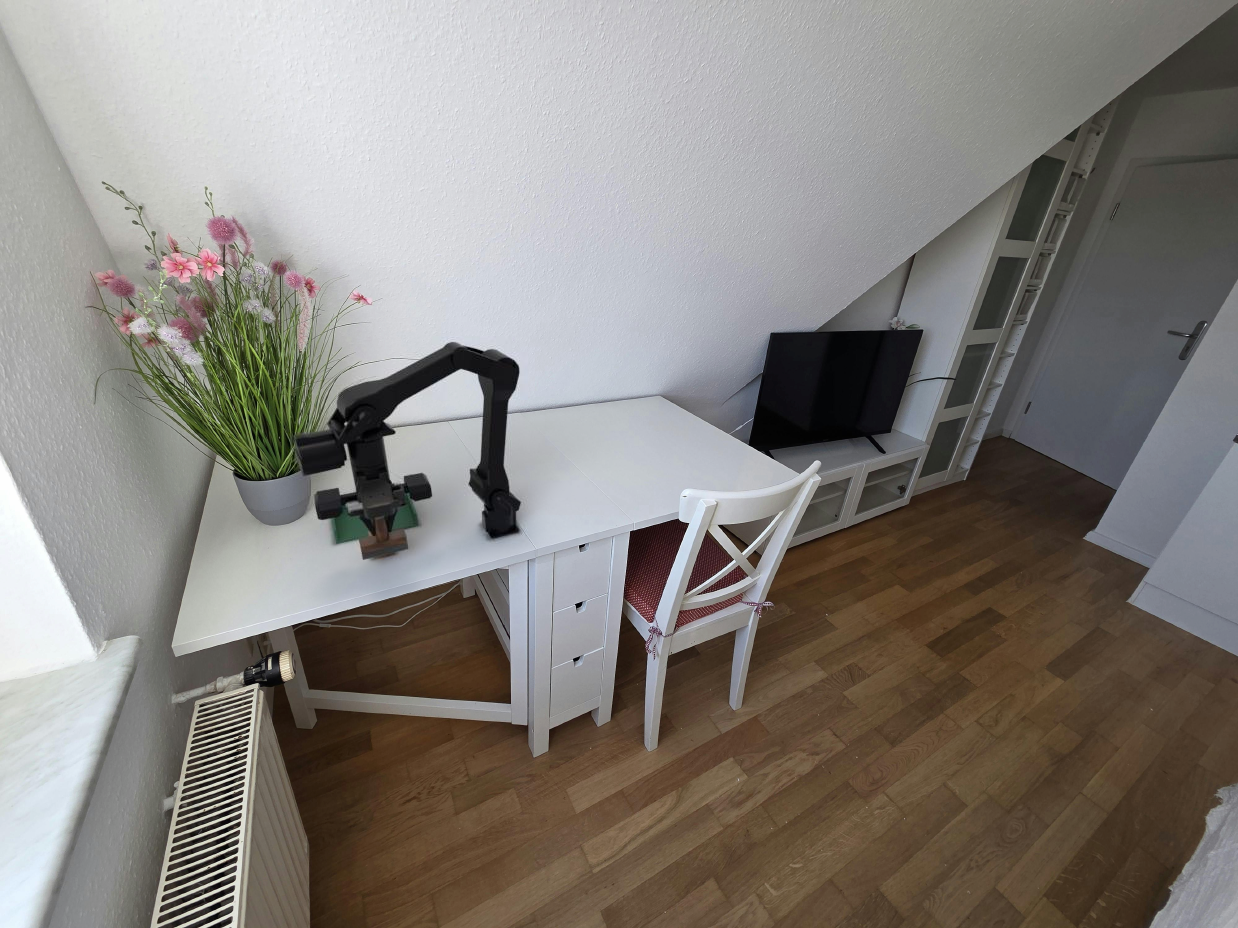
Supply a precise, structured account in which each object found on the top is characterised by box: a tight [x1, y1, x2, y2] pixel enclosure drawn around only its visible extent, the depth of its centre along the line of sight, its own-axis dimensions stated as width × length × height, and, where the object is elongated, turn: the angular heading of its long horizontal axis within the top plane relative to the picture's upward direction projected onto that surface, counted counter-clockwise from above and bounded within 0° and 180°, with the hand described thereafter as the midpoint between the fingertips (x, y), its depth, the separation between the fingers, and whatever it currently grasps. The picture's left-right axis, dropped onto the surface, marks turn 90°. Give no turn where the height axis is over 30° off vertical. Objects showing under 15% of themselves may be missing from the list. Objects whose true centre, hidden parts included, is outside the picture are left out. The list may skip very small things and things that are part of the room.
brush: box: [358, 516, 409, 561], centre depth 96 cm, size 8×3×8 cm, turn 120°
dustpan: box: [331, 493, 419, 544], centre depth 116 cm, size 22×16×3 cm
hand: (381, 533), depth 96 cm, fingers closed on brush, 2 cm apart
